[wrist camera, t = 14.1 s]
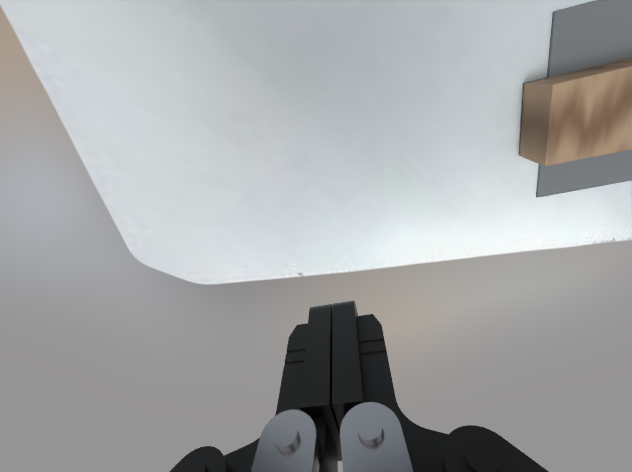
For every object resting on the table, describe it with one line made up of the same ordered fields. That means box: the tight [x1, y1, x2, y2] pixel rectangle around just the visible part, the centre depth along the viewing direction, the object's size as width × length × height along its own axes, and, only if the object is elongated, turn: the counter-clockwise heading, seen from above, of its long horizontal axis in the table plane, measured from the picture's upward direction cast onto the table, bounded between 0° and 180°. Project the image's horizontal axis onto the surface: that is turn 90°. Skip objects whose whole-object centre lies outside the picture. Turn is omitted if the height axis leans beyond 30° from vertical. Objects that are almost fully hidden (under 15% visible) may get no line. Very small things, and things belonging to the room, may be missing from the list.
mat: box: [536, 0, 632, 197], centre depth 34 cm, size 20×14×1 cm
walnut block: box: [520, 58, 632, 166], centre depth 32 cm, size 8×5×16 cm
